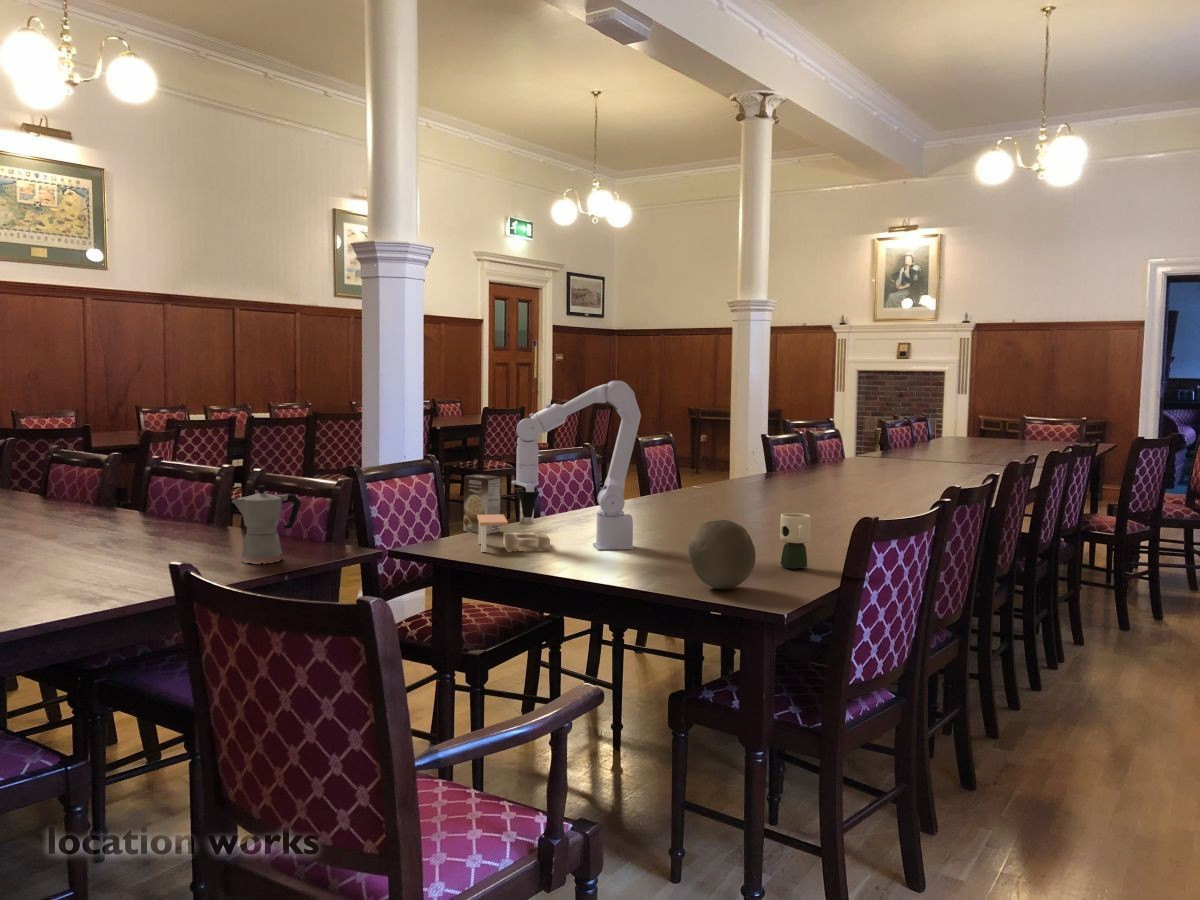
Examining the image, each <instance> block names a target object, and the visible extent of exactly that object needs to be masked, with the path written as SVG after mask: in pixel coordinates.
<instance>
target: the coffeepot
mask: <svg viewBox="0 0 1200 900" xmlns="http://www.w3.org/2000/svg"><path fill="white" fill-rule="evenodd" d="M265 489H266V485H261V484H260V485H258V486H257V490H258V493H254V494H251V495H248V496H243V497H238V498H234V499H232V501H231V503H232V504H234V505H235V506H236V508H237V509H238V510H239V512H240V514H241V515H242V518H243V522H244V523H243V524H244V527H246V534H245V536H244V543H243V548H242V549H243V550H242V554H241V558H242V557H246V558H269V557H275V556H279V555H280V554H282V555H283V552H282V551H283V550H282V547H281V545H282V544H281V541H280V535H279V533H278V532H277V531H278V529H277V526H278V525H279V524H280V518H281V513H282V512H281V511H282V505H283V504H287V503H292V507H291V513H290V515H289V517H288V523H287V524H283V525H282V526H283V528H284V529H285V530H287V529H288V530H289V529H292V528H293V527H294V525H295V521H296V519H297V517H298V514H299V511H300V508H301V505H302V502H301V500H300V499H299V497H298V496H297V495H295V494H289V493H288V494H278V495H275V494H271V493H266V492H265Z"/></svg>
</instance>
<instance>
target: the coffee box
mask: <svg viewBox="0 0 1200 900" xmlns="http://www.w3.org/2000/svg"><path fill="white" fill-rule="evenodd" d="M463 480H464V482H463V527H462V528H463V531H464V532H470V533H475V532H476V534H479V521H478V519H477V515H501V489H502V488H501V485H502V476H496V475H487V474H479V473H477V474H470V475H464V477H463ZM497 527H500V528H501V525H492V526H486V535H489V534H496V533H498V532H499V533H500V530H501V529H500V528H497ZM492 528H495V529H492ZM487 529H490V530H487Z"/></svg>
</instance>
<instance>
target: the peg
mask: <svg viewBox="0 0 1200 900" xmlns="http://www.w3.org/2000/svg"><path fill="white" fill-rule="evenodd" d="M534 513H535V508H534V509H533V514H532V517H528V518H524V517H523V513H522V505H521V500H520V502H519V524H520V525H525V526H528V525H529V526H531V525H534V521H535V520H534V518H535V517H534V515H535V514H534Z"/></svg>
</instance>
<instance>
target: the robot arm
mask: <svg viewBox="0 0 1200 900" xmlns="http://www.w3.org/2000/svg"><path fill="white" fill-rule="evenodd" d="M607 403H608V404H609V405H611V406H612V407H613V408H614V409H615V411H616V412H617V414H618V415H619V416H620V418H621V421H620V424H619V429H618V433H617V436H616V440H615V445H614V449H613V452H612V456H611V460H610V464H609V469H608V472H607V476H606V478H605V481H604V485H603V487H602V488H601V490H600V491H599V492H598V494H597V497H596V499H597V503H598V506H599V509H598V510H597V511H596V537H595V539H596V542H592V545H593V546H594V547H595V548H596V549H597V550H599V551H600V550H603V551H605V550H607V551H608V550H609V551H610V550H633V549H634V546H633V544H634V543H633V540H634V539H633V538H634V537H633V536H634V520H633V516H632V514H630V513H629V514H628V513H627V514H626V513H625V511H623V509H624V508H625V497H624V493H625V489H626V488H625V486H626V485H625V484H626V478H627V474H628V470H629V466H630V463H631V458H632V456H633V454H632V453H633V451H634V446H635V442H636V438H637V434H638V430H639V425H640V423H641V422H640V421H641V418H642V414H641V411H640V408H639V405H638V402H637V399H636V394H635V392H634V390H633V389H632V388H631V386H629V384H628V383H627V382H625V381H623V380H611V381H609V382H607V383H604V384H600V385H598V386H595V387H593V388H590V389H589V390H587V391H585V392H583V393H581V394H579V395H578V396H576V397H574V398H572V399H571V400H569V401H567V402H565V403H564V404H558V403H553V404H551V403H548V404H546V405H545V408H543V409H541V410H539V411H537V412H535V413H533V412H531V413H529V418H528V417H527V418H522V419H521V420H520V421H519V422H518V424H517V426H516V429H515V430H516V431H515V432H516V434H517V436H518V437H517V440H516V444H517V446H516V464H515V465H516V468H515V469H516V474H515V475H516V477H515V480H511V485H516V486H519V487H518V488H517V487H515V488H514V490H515V492H516V494H517V498H518V501H519V503H520V500H521V505H522V513H523V517H524V518H528V517H532V514H533V509H534V510H535V504H536V501H537V499H538V497H539V494H540V491H539V490H537V489H538V488H537V486H539V484H540V481H539V453H540V452H539V449H540V448H539V446H538V443H539V441H538V440H539V438H538V437H539V436H540V434H546V433H548V432H550V431H552V430H555V428H557V427H559V426H561V425H563V424H565V423H566V420H567V417H568V416H570V415H572V414H574V413H576V412H578V411H580V410H582V409H584V408H586V407H588V406H590V405H593V404H607ZM520 486H521V487H520Z"/></svg>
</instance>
